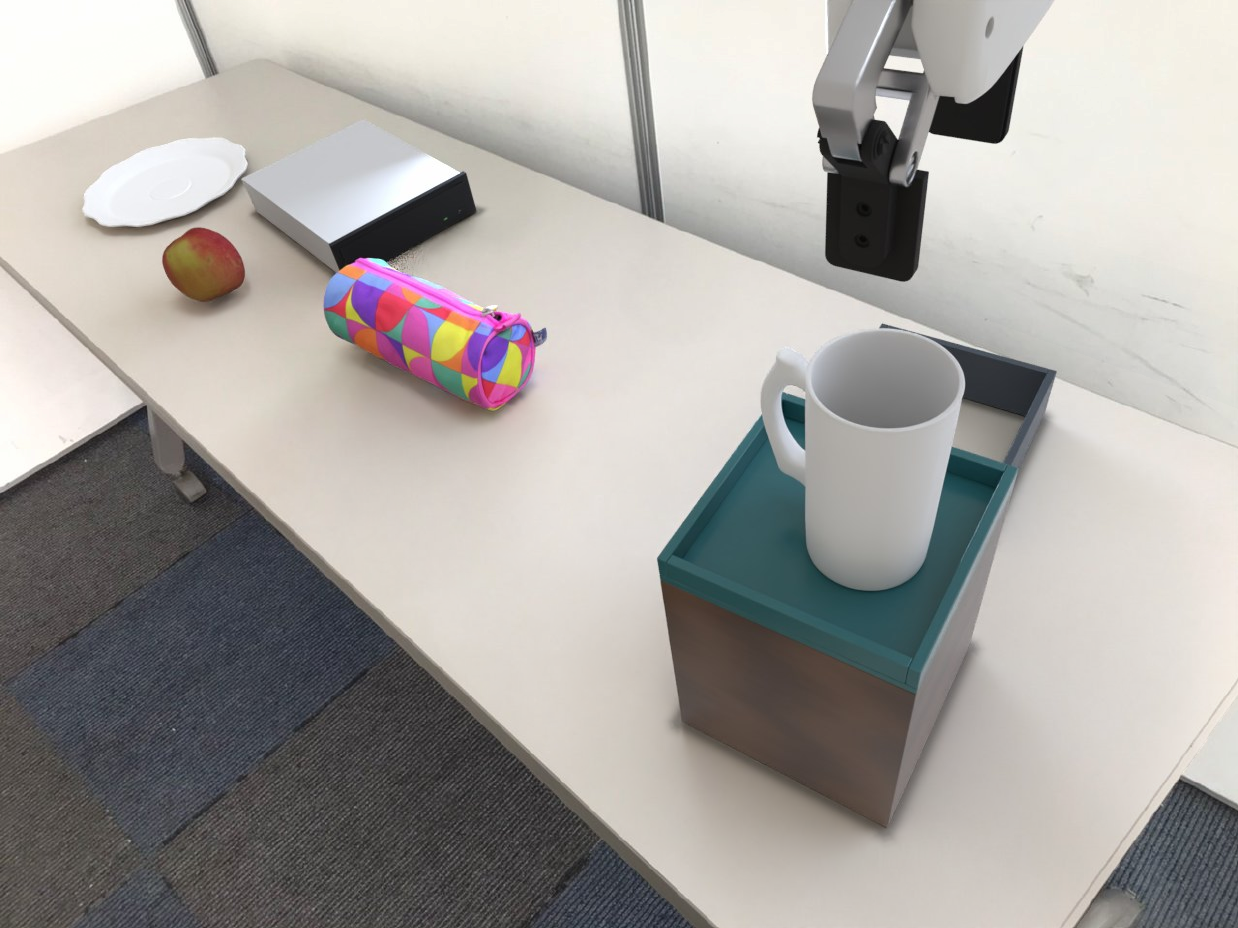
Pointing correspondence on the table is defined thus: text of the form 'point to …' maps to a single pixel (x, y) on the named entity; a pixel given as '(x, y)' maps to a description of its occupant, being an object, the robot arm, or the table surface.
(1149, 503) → the table surface
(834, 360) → the mug
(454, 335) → the pencil case
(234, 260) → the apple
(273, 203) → the disc drive
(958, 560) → the tray
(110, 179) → the plate
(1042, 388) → the dark gray square frame
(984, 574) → the riser
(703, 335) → the table surface
